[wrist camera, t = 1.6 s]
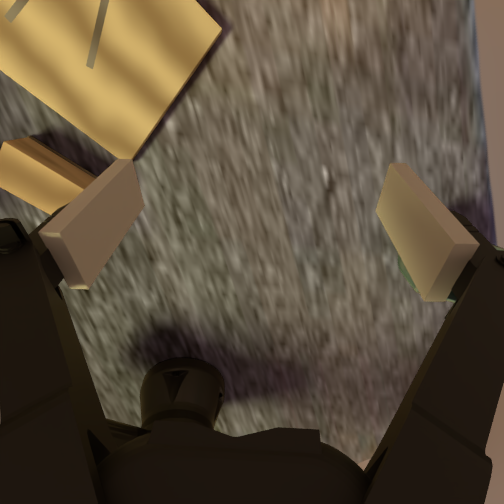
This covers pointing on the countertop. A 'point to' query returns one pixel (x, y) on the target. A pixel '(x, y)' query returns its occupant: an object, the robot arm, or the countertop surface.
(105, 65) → the board
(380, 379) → the countertop surface
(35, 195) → the block
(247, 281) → the countertop surface
